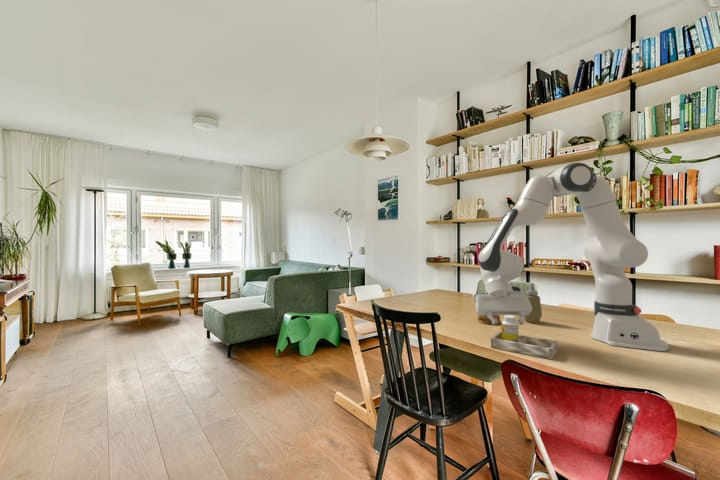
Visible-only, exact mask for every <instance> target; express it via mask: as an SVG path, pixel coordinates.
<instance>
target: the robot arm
mask: <svg viewBox="0 0 720 480" xmlns="http://www.w3.org/2000/svg"><path fill="white" fill-rule="evenodd" d="M569 195H574V196H575V197H576V198H577V200H578V201H579V206H580V209H581V212H582V215H583V219H584V222H585V225H586V227H587V229H588V230H589V231H590V232H592V233H593V234H594V236H595V237H596V239H593V240H591V241H588V242H587V243H586V245H585V246H584V248H583V253H584V257H585V258H586V260H587V261H588V262H589V264H590V268H591V271H592V273H593V277H594V281H595V282H594V283H595V285H594V286H595V287H594V288H595V300H594V301H593V302H594V303H593V313H594V321H593V326H592V331H591V333H590V337H591V338H593V339H594V340H597V341H600V342H603V343H605V344H608V345H610V346H614V347H623V348H629V349H630V348H631V349H639V350H646V351H647V350H648V351H657V352H667V351H669V349H670V347H669V346H670V345H669V343H668V342H666V341H665V340H663V339H661V334H660V331H659V330H658V328H657V327H656V326H655V325H654V324H653V323H651V322H650V321H648V320H647V319H645V318H644V317H642V316H641V315H640V314H641V313H642V309H641V308H640V307H639V306H638V305H635V304H633V284H632V282H631V280H630V279H629V278H628V276H627V275H626V273H625V270H624V269H631V268H637V267H640V266H642V265H643V264H645V262H647V260H648V257H649V250H648V248H647V246H646V245H645V244H644V243H643V242H642V241H640V240H639V239H638V238H636V237H635V235H633V233H632V232H631V231H630V229H629V228H628V227H627V224H626V223H625V222H624V219H623V217H622V214H621V212H620V209H619V206H618V203H617V200H616V197H615V194H614V192H613V190H612V186H610V184H609V182H608V180H607V179H606V178H605V177H603V175H602V176H601V175H597V174H596V173H595V172H594V171H593V169H592V168H591V167H590V166H589V165H588V164H586V163H583V162H572V163H569V164H566V165H563V166H561V167H558V168H556V169H555V170H552V171H551V172H550V173H549V174H547V175H535V176H533V177H531V178H529V180H528V181H527V183H526V185H525V186H524V187H523V189H522V192H521V194H520V196H519V198H518V201H517V202H516V204H515V205H514V206H513V207H512V208H510V209H508V210H506V212H505V213H504V214H503V216H502V217H501V219H499V222H498V223H497V225H496V227H495V229H494V230H493V232H492V234H491V236H490V237H489V238H488V240H487V242H486V244H485V245H484V246H483V247H482V248H481V249H480V251H479V253H478V256H477V260H478V261H477V262H478V264H479V267H480V268H479V271H480V275H481V279H482V282H483V284H484V290H485V292H475V293H474V294H473V295H472V298H473V302H474V303H475V305H474V306H475V313H476V314H478V316H479V315H487V317H488V318H489V319H490V320H491V321H492V324H491V325H494V326H495V325H498V324H497V323H498V321H497V318H494V317H493V316H492V315H499V316H504V315H513V316H518V317H519V318H518V319H517V320H516V322H518V326H523V325H524V324H525V320H524V315H529V314H530V313H531V311H532V306H531V303H530V301H529V299H528V298H527V296H526V295H527V294H524V289H523V288H522V287H520V286H516V285H512V284H509V283H508V282H511V281H513V280H515V279H516V278H518V277H519V276H521V275H522V273H523V272H524V270H525V261H524V259H523V257H522V256H520V255H518V254H515V253H513V252H510V251H508V250H504V249H503V246H504V244H505V243H506V241H507V239H508V238H509V236H510V234H511V233H512V232H513V230H514V229H515V228H517V227H521V226H522V227H523V226H533V225H536V224H539V223H541V222H542V221H543V219H544V218H546V217H545V216H546V214H547V213H548V210H549V207H550V205H551V203H552V200H553V198H554V197H562V196H569Z"/></svg>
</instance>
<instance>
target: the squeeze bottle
mask: <svg viewBox="0 0 720 480" xmlns="http://www.w3.org/2000/svg"><path fill="white" fill-rule="evenodd" d="M538 294H539V293H538V291H537V290H536V289H535V285H534V283H533V282H531V283H530V284H529V289H528V290H526V294H525V295H526V296H527V298H528V299H529V301H530V303H531V306H532V311H531V313H530V314H529V315H524V317H523V320H524V322H526V323H530V324H538V323H540V321H541V318H542V316H543V313H542V303H541V297H540V296H539V295H538Z"/></svg>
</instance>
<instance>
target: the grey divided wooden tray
mask: <svg viewBox="0 0 720 480" xmlns="http://www.w3.org/2000/svg"><path fill="white" fill-rule="evenodd" d="M557 343H558V342H557V340H552V339H546V338H540V337H535V336H528V335H522V334H519V343H518V342H512V341H507V340H502V331H498V332H496V333H495V334H494V335H493V336H492V337H491V338H490V348H492V349H498V350H503V351H507V352H512V353H517V354H521V355H527V356H532V357H537V358H542V359H547V360H553V358H554V357H555V354H556V353H557V350H558V349H557V348H558V344H557Z"/></svg>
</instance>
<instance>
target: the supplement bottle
mask: <svg viewBox="0 0 720 480" xmlns="http://www.w3.org/2000/svg"><path fill="white" fill-rule="evenodd" d="M516 317H517V316H516V315H503V319H502V320H501V332H502V340H507V341H512V342H518V343H519V335H520V334H519V324H518V322H517V318H516Z"/></svg>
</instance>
